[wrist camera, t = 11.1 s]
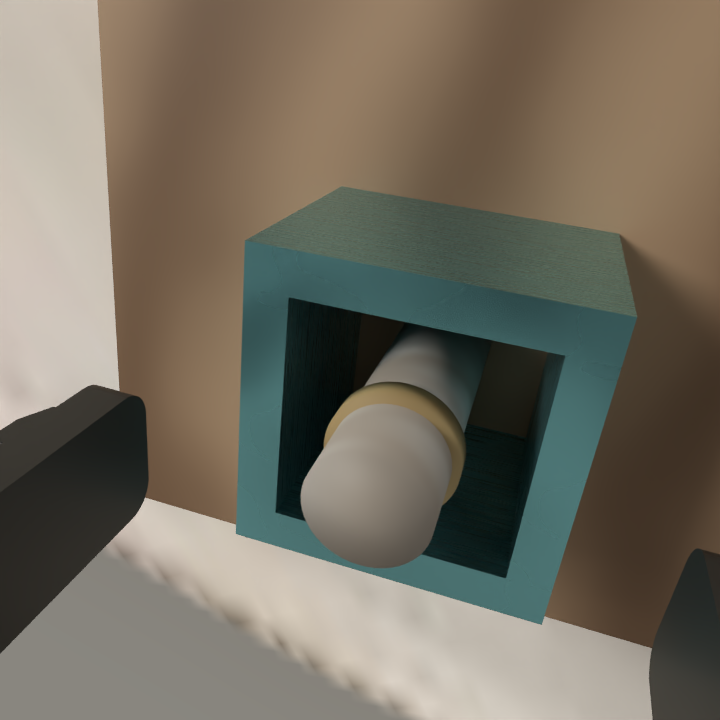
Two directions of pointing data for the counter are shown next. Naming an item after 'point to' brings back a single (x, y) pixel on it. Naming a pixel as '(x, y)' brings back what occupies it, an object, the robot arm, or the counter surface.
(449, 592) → the collar
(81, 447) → the robot arm
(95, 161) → the counter surface
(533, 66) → the post board
